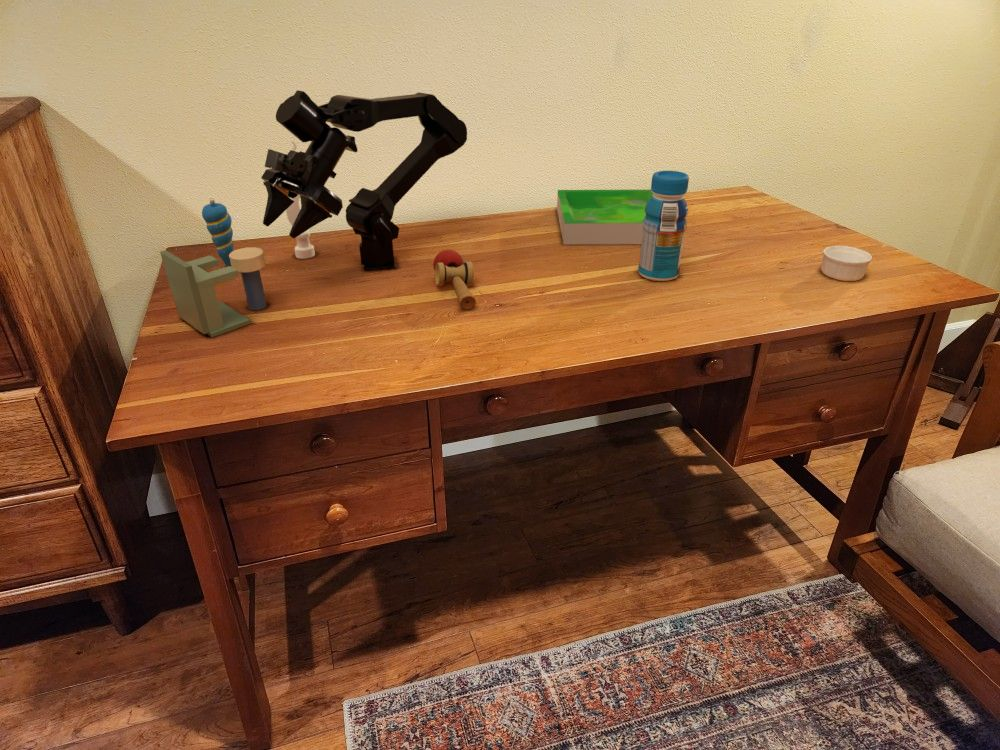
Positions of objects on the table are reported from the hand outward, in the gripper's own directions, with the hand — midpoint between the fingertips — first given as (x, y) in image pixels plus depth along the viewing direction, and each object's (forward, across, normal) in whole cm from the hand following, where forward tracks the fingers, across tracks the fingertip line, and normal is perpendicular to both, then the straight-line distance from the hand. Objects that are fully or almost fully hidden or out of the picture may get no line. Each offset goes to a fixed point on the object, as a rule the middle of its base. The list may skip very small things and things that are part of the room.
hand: (277, 231), depth 122 cm
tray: (-44, +21, +62) cm, 79 cm away
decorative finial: (-1, -16, +19) cm, 25 cm away
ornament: (+10, -22, +8) cm, 25 cm away
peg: (+14, 0, +4) cm, 14 cm away
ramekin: (-49, +72, +67) cm, 110 cm away
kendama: (-7, +22, +26) cm, 35 cm away
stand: (+20, 0, -2) cm, 20 cm away
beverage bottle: (-31, +46, +49) cm, 74 cm away
